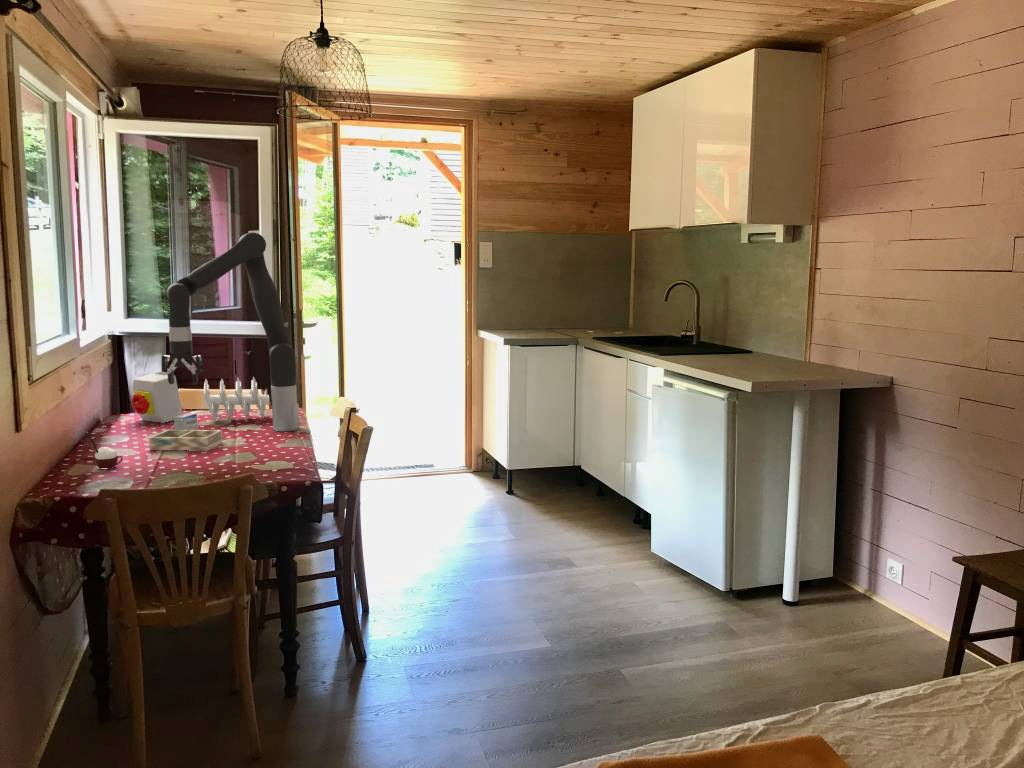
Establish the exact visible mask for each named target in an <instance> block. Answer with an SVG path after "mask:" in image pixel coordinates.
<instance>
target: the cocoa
mask: <svg viewBox="0 0 1024 768" xmlns="http://www.w3.org/2000/svg"><path fill="white" fill-rule="evenodd" d="M85 433H86V435H87V437H88V439H89V441H90V443H91V445H92V447H93V448H94V450H95V453H94V457H95V458H94V460H95V463H96V466H97V468H98V469H100V468H112V467H114V468H115V467H116V466H118V465H119V464H121V463H122V461H123V459H124V457H123V456H122V455H118V452H117V451H116V450H115V449H113V448H111V447H108V446H103V447H99V448H97V447H96V445H95V442H94V441H93V438H92V437H91V434H90V433H89V432H88V431H86V432H85ZM119 458H120V460H119V461H118V459H119ZM112 469H113V468H112Z"/></svg>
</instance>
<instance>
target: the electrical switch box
mask: <svg viewBox="0 0 1024 768" xmlns="http://www.w3.org/2000/svg"><path fill="white" fill-rule="evenodd" d="M132 391H133V395H132V398H131V404H132V407H133V410H134V411H135V412H136V413H137V414H138V415H139V417H140V418H141V420H142V421H145V422H151V421H152V423H157V422H161V423H160V424H163V423H164V424H166V423H165V422H167V423H170V422H172V421H173V422H174V417H177V416H180V415H184V410H183V407H182V402H181V398H180V397H181V396H180V392H179V388H178V382H177V378H176V375H174V384H170V383H169V382H168V374H167V373H165V372H162V371H158V372H153V373H150V374H146V375H143V376H139V377H137V378H134V379H133V381H132ZM169 421H170V422H169Z"/></svg>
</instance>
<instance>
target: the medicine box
mask: <svg viewBox="0 0 1024 768" xmlns="http://www.w3.org/2000/svg"><path fill="white" fill-rule="evenodd" d="M173 423H174V424H173V425H174V430H199V427H198V426H199V424H198V414H197V413H193V412H191V413H183V415H180V416H177V417H174V420H173Z"/></svg>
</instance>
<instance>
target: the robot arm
mask: <svg viewBox="0 0 1024 768" xmlns="http://www.w3.org/2000/svg"><path fill="white" fill-rule="evenodd" d="M237 241H238V242H237V243H236V244H235V245H234V246H232V247H231V248H230V249H228V250H227V251H226V252H223V253H222V254H220V255H218V256H216V257H215V258H212V259H211V260H209V261H208V262H205V263H203V264H202V265H201V266H199V267H197V268H196V269H194V270H193V271H191V272H190V273H189V274H188V275H186V276H184V277H182V278H180V279H178V280H177V281H175V282H172V284H170V285H169V286H168V287H167V289H166V297H167V299H168V307H169V313H168V328H169V329H168V330H169V332H168V339H169V341H168V342H169V352H170V354H169V355H168V354H167V355H166V354H164V355H162V356H161V372H165V373H167V374H168V382H169V383H170V384H174V376H175V375H174V374H175V373H174V371H175V370H176V369H178V368H183V369H184V368H187V370H189V371H190V372H191V373H192V374H191V375H192V377H191V378H192V379H191V380H192V385H198V383H199V373H202V372H204V363H203V356H202V355H200V354H199V355H193V351H194V350H193V334H192V329H191V317H190V316H191V315H190V307H191V306H190V303H191V302H190V301H191V299H190V297H191V296H193V295H194V294H195V293H197V292H199V291H201V290H204V289H206V288H207V287H208V286H210V285H212V284H213V283H215V282H216V281H219V279H220V278H222V277H223V276H224V275H226V274H228V273H229V272H230V271H232V270H233V269H235V268H236V267H238V266H240V265H242V264H244V267H245V270H246V273H247V277H248V282H249V287H250V291H251V295H252V300H253V302H254V307H255V311H256V313H257V315H258V318H259V320H260V323H261V325H262V327H263V329H264V332H265V335H266V340H267V345H268V346H267V347H268V352H269V353H268V354H269V365H270V366H269V368H270V369H269V370H270V390H271V391H270V395H271V396H270V397H271V413H272V415H271V416H272V430H273V431H274V430H275V432H291V431H296V430H298V429H299V428H300V405H299V403H298V400H297V396H298V395H297V370H296V369H297V368H296V367H297V362H296V361H297V360H296V353H295V350H294V349H293V346H292V345H291V342H290V340H289V336H288V334H287V331H286V328H285V323H284V321H285V320H284V314H283V313H284V312H283V309H282V308H283V307H282V303H281V300H280V296H279V292H278V290H277V287H276V285H275V283H274V281H273V278H272V277H271V275H270V272H269V271H268V270H269V269H268V268H267V265H266V261H265V260H266V259H265V255H264V253H265V251H266V248H267V242H266V239H265V238H264V237H263V235H262V234H260V233H257V232H247V233H244V234H243V235H241V236H240V238H238V240H237ZM169 361H171V364H170V365H169ZM193 361H194V362H195V363H196V364H194V363H193Z"/></svg>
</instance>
